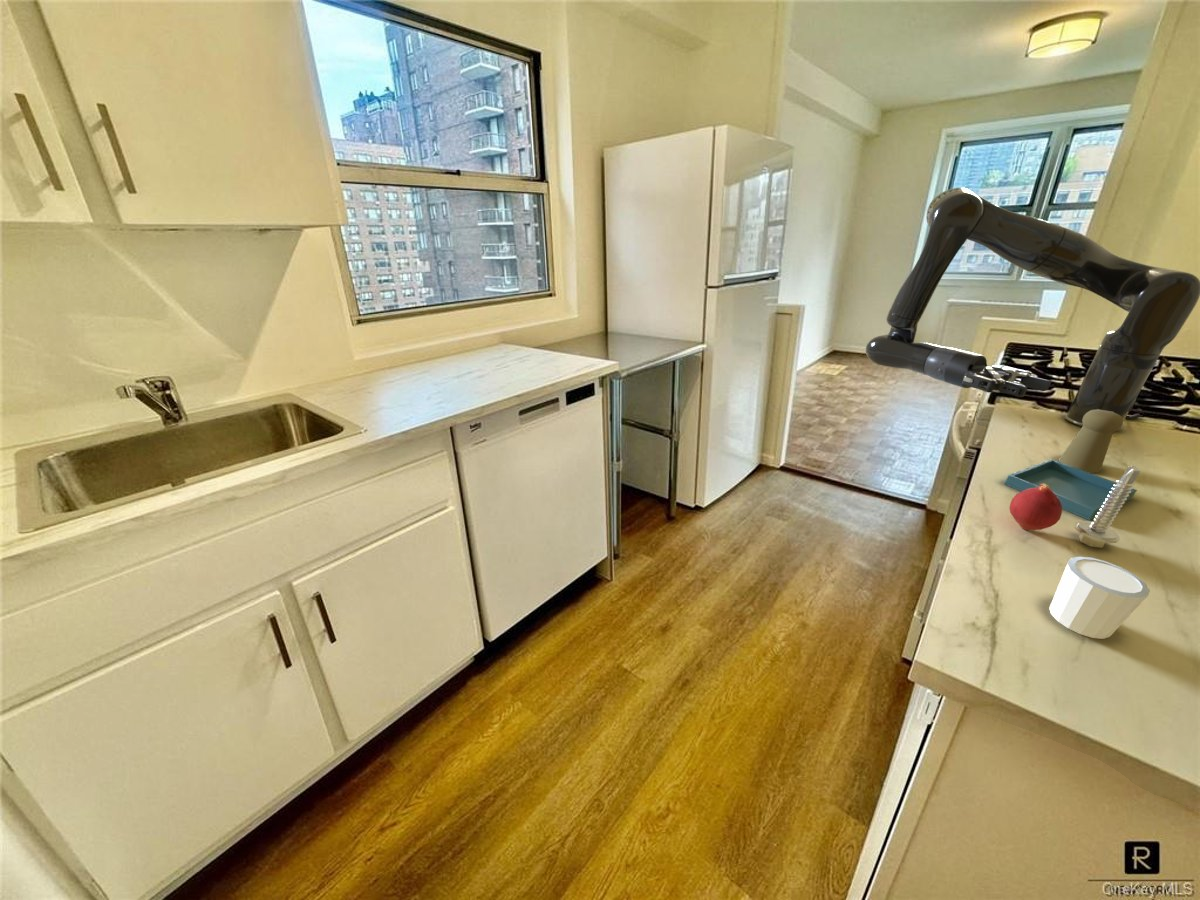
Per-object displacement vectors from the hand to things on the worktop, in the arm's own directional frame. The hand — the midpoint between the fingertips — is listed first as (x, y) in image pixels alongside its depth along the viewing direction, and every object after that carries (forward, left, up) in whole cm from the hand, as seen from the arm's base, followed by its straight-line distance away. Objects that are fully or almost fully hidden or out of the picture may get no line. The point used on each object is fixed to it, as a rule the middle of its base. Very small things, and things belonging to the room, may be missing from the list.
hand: (1036, 389), depth 96 cm
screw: (+28, +24, -12) cm, 39 cm away
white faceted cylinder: (+48, +31, -12) cm, 58 cm away
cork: (0, +11, -12) cm, 16 cm away
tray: (+14, +15, -12) cm, 24 cm away
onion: (+33, +18, -12) cm, 39 cm away
